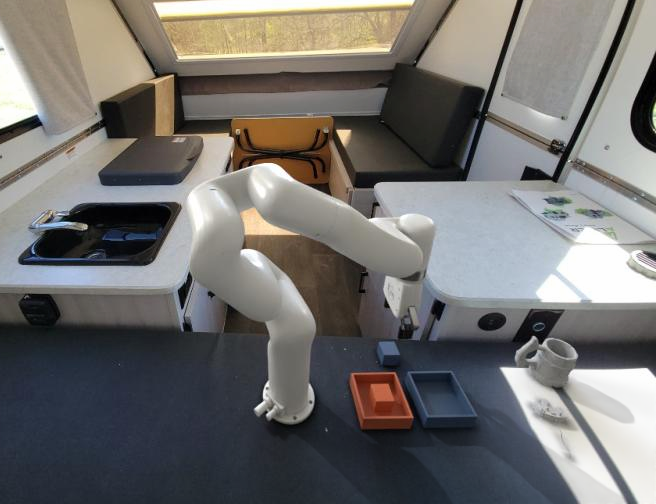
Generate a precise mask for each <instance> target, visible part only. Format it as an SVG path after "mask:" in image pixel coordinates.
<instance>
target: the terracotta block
mask: <svg viewBox="0 0 656 504" xmlns="http://www.w3.org/2000/svg"><path fill="white" fill-rule="evenodd" d="M369 397H370V401H371V404H372V407H373V411H374V412H392V409H393V405H394V402H395V401H394V398H393V395H392V393H391V390H390V387H389V384H371V386H370V391H369Z"/></svg>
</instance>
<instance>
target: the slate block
mask: <svg viewBox="0 0 656 504" xmlns="http://www.w3.org/2000/svg"><path fill="white" fill-rule="evenodd" d="M395 342H396V341H379V342H378V344H377V350H376V353H377V357H378V359H379V361H380V364H381V366H383V367H384V366H398V364H399V361H400V358H401V357H400V356H401V354H400V351H399V349H398V347H397V345H396V343H395Z"/></svg>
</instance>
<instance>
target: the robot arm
mask: <svg viewBox="0 0 656 504" xmlns="http://www.w3.org/2000/svg"><path fill="white" fill-rule="evenodd" d="M253 208H255V210H256V211H257V213H258V214H259V216H260V217H261V218H262V220H263V221H265V222H266V223H267V224H269V225H271V226H273V227H276V228H278V229H282V230H285V231H287V232H290V233H293V234H296V235H298V236H299V235H300V236H302V237H305V238H308V239H311V240H312V241H316V242H319V243H321V244H324V245H326V246H327V247H329V248H331V250H334V251H335V252H337V253H339V254H341V255H342V256H344V257H346V258H348V259H349V260H351V261H354V262H355V263H357V264H359V265H361V266H362V267H364V268H366V269H368V270H370V271H372V272H375V273H377V274H381V275H382V276H383V275H384V276H385V279H384V283H383V294H384V302H383V307H384V309H390V310H391V312H392V314H393V316H394V317H395V318H396V319H400V325H399V326H398V331H397V336H396V338H397V340H400V341H401V340H403V341H404V340H405V341H406V340H412V339H413V336H414V333H415V332H416V331H418V330H419V329H420V327H421V325H420V321H419V318H418V315H419V313H420V308H421V304H422V298H423V297H422V296H423V286H424V281H425V280H426V277H427V271H428V269H429V263H430V261H431V260H430V259H431V255H432V251H433V247H434V242H435V239H436V234H437V225H436V223H435V221H434V220H433V219H432V218H430V217H429V216H427V215H424V214H420V213H406V214H403V215H401V216H398V217H373V218H367V217H366V216H364V215H363V213H361V212H359V211H358V210H357V209H355V208H354V207H353V206H351V205H350V204H348V203H346V202H344V201H343V200H341V199H339V198H337V197H334V196H331V195H329V194H327V193H325V192H323V191H320V190H318V189H316V188H313V187H312V186H310V185H307V184H304V183H302V182H300V181H298V180H296V179H295V178H293V177H292V176H291V175H290V174H289V173H288V172H287V171H286V170H284V168H283V167H281V166H280V165H278V164H276V163H271V162H270V163H268V162H267V163H259V164H254V165H251V166H248V167H245V168H241V169H238V170H236V171H232V172H229V173H226V174H223V175H219V176H217V177H215V178H212V179H209V180H206V181H204V182H201V183H200V184H198V185H197V186H195V187H194V188H193V189H191V191H190V193H189V194H188V196H187V198H186V201H185V212H186V215H187V220H188V223H189V229H190V233H191V245H190V251H189V256H188V261H187V263H188V271H189V274H190V276H191V277H192V278H193V280H194V281H195V282H196V283H197V284H199V285H200V286H201V287H203V288H205V289H206V290H208V291H209V292H211V293H212V294H214V295H215V296H216V297H218V298H219V299H220V300H221V301H223V302H225V303H226V304H227V305H229V306H230V307H232V308H234V310H236V311H238V313H240V314H242V315H243V316H245V317H246V318H248V319H249V320H252V321H255V322H257V323H264V324H265V326H266V328H267V331H268V334H269V340H268V343H267V369H268V370H267V371H268V372H267V373H268V380H267V381H266V383H265V384H264V388H263V391H262V402H261V403H259V404H258V405H257V406H256V407H255V408H253V412H254V414H255V415H256V417H258V418H259V417H262V415H263V414H264V413H265V412H267V413H266V414H265V418H266V420H267V421H269V422H270V421H271V420H272V419H273V420H275V421H276V422H278V423H281V424H284V425H297V424H299V423H303V422H304V421H305V420H307V419H308V418H309V416H310V415H311V414H312V412H313V409H314V408H315V407H314V406H315V392H314V389H313V387H312V385H311V383H310V371H311V370H310V369H311V353H312V351H311V350H312V345H313V343H314V342H313V341H314V339H315V336H316V333H317V325H316V320H315V318H314V316H313V313H312V311H311V309H310V307H309V306H308V305H307V303H306V302H305V300H304V298H303V296H302V295H301V294H300V292H299V290H298V289H297V287H296V285H295V284H294V282H293V281H292V280H291V278H290V277H289V276H288V275H287V274H286V273H285V272H284V271H283V270H282V269H280V268H279V267H278V266H277V265H276V264H275V263H273V261H271V260H270V259H269V258H268V257H267V256H266V255H264V253H262V252H260V251H259V250H256V249H251V248H244V249H243V246H244V242H245V236H246V228H245V227H246V226H245V223H244V220H243V218H242V215H241V213H242V212H244V211H245V212H246V211H248V210H250V209H253ZM406 319H409V320H410V321H409V322H410V323H406Z"/></svg>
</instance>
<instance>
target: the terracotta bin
mask: <svg viewBox="0 0 656 504" xmlns="http://www.w3.org/2000/svg"><path fill="white" fill-rule="evenodd" d="M371 384H389V387H390V390H391V393H392V395H393V398H394V401H395V402H394V405H393V409H392V412H374V411H373V407H372V404H371V401H370V397H369V391H370V386H371ZM349 386H350V390H351V393H352V397H353V398H352V399H353V402H354V406H355V409H356V414H357V417H358V421H359V425H360V429H361V430H398V429H399V430H400V429H401V430H405V429H407V430H409V429H411V428H412V425H413V421H414V419H415V418H414V415H413V412H412V410H411V408H410V405H409V402H408V400H407V398H406V395H405V393H404V390H403V387H402V384H401V383H400V380H399V378H398V375H397V372H393V371H391V372H389V371H388V372H386V371H385V372H351V373H350V378H349Z"/></svg>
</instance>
